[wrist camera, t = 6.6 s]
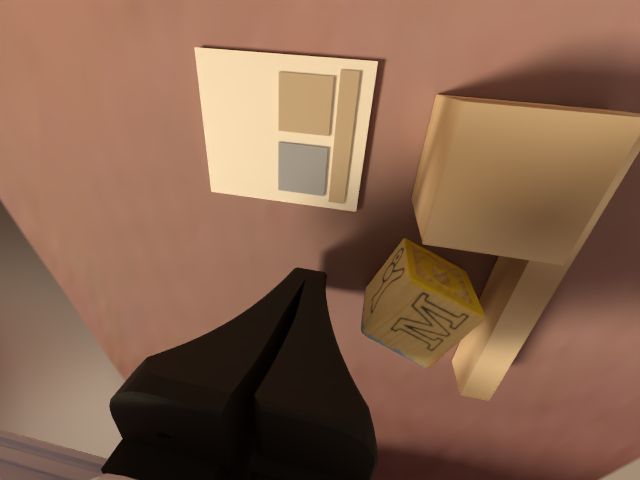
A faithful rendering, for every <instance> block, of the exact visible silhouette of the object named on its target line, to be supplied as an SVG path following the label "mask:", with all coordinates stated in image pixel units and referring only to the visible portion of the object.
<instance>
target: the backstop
mask: <svg viewBox="0 0 640 480" xmlns="http://www.w3.org/2000/svg"><path fill="white" fill-rule="evenodd" d="M568 107H575V108H582V109H589V110H596V111H603V112H610V113H617V114H624V115H631V116H638V117H640V113H633V112H625V111H617V110H610V109H598V108H587V107H576V106H568ZM639 151H640V135H639V137H638V139H637V140H636V142H635V144H634V145H633V147H632V149H631V150H630V152H629V154H628V156H627V157H626V159H625V161H624V162H623V164H622V166H621V168H620V169H619V171H618V173H617V174H616V176H615V178H614V179H613V181H612V183H611V185H610V186H609V188H608V190H607V191H606V193H605V195H604V196H603V198H602V200H601V202H600V203H599V205H598V207H597V208H596V210H595V212H594V214H593V215H592V217H591V219H590V220H589V222H588V224H587V225H586V227H585V229H584V231H583V232H582V234H581V236H580V237H579V239H578V241H577V242H576V244H575V246H574V248H573V249H572V251H571V253H570V254H569V256H568V258H567V260H566V261H565V263H564V265H558V264H551V263H545V262H538V261H531V260H524V259H518V258H511V257H504V256H498V258H497V261H496V263H495V265H494V267H493V270H492V272H491V274H490V276H489V279H488V281H487V283H486V285H485V288H484V290H483V292H482V294H481V297H480V299H479V302H480V305H481V307H482V309H483V312H484V315H485V319H484V320H483V321H482V322H481V323H480V324H479V325H478V326H477V327H476V328H474V329H473V330H472V331H471V332H470V333H469V334H467V335H466V336H465V337H464V338H463V339H462V340H461V341H460V344H459V346H458V348H457V350H456V353H455V355H454V357H453V359H452V364H453V368H454V371H455V375H456V379H457V383H458V387H459V391H460V395H463V396H468V397H473V398H478V399H483V400H488V401H489V400H490V399H491V397H492V395H493V394H494V392H495V390H496V389H497V387H498V385H499V384H500V382H501V380H502V379H503V377H504V375H505V374H506V372H507V370H508V369H509V367H510V365H511V364H512V362H513V360H514V359H515V357H516V355H517V354H518V352H519V350H520V349H521V347H522V345H523V344H524V342H525V340H526V339H527V337H528V335H529V334H530V332H531V330H532V329H533V327H534V325H535V324H536V322H537V321H538V319H539V317H540V316H541V314H542V312H543V311H544V309H545V307H546V306H547V304H548V302H549V301H550V299H551V297H552V296H553V294H554V292H555V291H556V289H557V287H558V286H559V284H560V282H561V281H562V279H563V277H564V276H565V274H566V272H567V271H568V269H569V267H570V266H571V264H572V262H573V261H574V259H575V257H576V256H577V254H578V252H579V251H580V249H581V248H582V246H583V244H584V243H585V241H586V239H587V238H588V236H589V234H590V233H591V231H592V229H593V228H594V226H595V224H596V223H597V221H598V219H599V218H600V216H601V214H602V213H603V211H604V209H605V208H606V206H607V204H608V203H609V201H610V199H611V198H612V196H613V194H614V193H615V191H616V189H617V188H618V186H619V184H620V183H621V181H622V179H623V178H624V176H625V174H626V173H627V171H628V170H629V168H630V166H631V165H632V163H633V161H634V160H635V158H636V156H637V155H638V153H639Z"/></svg>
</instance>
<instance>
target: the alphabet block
mask: <svg viewBox="0 0 640 480" xmlns="http://www.w3.org/2000/svg"><path fill="white" fill-rule="evenodd" d="M484 319H485V315H484V312H483V309H482V307H481V305H480V302H479V300H478V298H477V295H476V293H475V292H474V289H473V286H472V284H471V282H470V279H469V277H468V275H467V273H466V271H465V270H463V269H462V268H460V267H458V266H457V265H455V264H453V263H451V262H449V261H447V260H445V259H444V258H442V257H440V256H438V255H436V254H435V253H433V252H431V251H429V250H427V249H425V248H423V247H421V246H419V245H418V244H416V243H414V242H412V241H410V240H409V239H407V238H404V239H403V240H402V241H401V242H400V244H399V245H398V246H397V248H396V249H395V250H394V252H393V253H392V254H391V255H390V257H389V258H388V259H387V261H386V262H385V263H384V265H383V266H382V267H381V269H380V270H379V271H378V273H377V274H376V275H375V277H374V278H373V279H372V281H371V282H370V283H369V284H368V286H367V287H366V289H365V296H364V305H363V314H362V323H361V331H362V333H363V334H364V335H365V336H367V337H368V338H370V339H372V340H374V341H376V342H378V343H380V344H382V345H383V346H386V347H387V348H389V349H391V350H393V351H394V352H397V353H398V354H400V355H402V356H404V357H406V358H408V359H410V360H412V361H414V362H416V363H418V364H420V365H421V366H422V367H424V368H429V367H431V366H432V365H433V364H434V363H435V362H436V361H437V360H438V359H440V358H441V357H442V356H443V355H444V354H445V353H446V352H448V351H449V350H450V349H451V348H452V347H454V346H455V345H456V344H457V343H458V342H459V341H460V340H462V339H463V338H464V337H465V336H466V335H467V334H469V333H470V332H471V331H472V330H473V329H474V328H476V327H477V326H478V325H479V324H480V323H481V322H482V321H483V320H484Z"/></svg>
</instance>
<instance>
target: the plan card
mask: <svg viewBox="0 0 640 480" xmlns="http://www.w3.org/2000/svg"><path fill="white" fill-rule="evenodd" d="M195 56H196V64H197V73H198V81H199V90H200V99H201V107H202V116H203V124H204V133H205V141H206V150H207V158H208V167H209V175H210V184H211V192H218V193H225V194H232V195H239V196H246V197H253V198H260V199H268V200H275V201H282V202H289V203H296V204H303V205H311V206H318V207H325V208H332V209H339V210H346V211H353V212H356V209H357V202H358V195H359V189H360V182H361V175H362V168H363V161H364V154H365V148H366V141H367V134H368V127H369V120H370V113H371V106H372V100H373V93H374V86H375V79H376V72H377V65H378V61H368V60H355V59H342V58H329V57H315V56H302V55H289V54H276V53H263V52H250V51H237V50H224V49H210V48H197V47H195Z"/></svg>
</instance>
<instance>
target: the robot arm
mask: <svg viewBox="0 0 640 480" xmlns="http://www.w3.org/2000/svg"><path fill="white" fill-rule="evenodd" d="M326 280H327V274H326V273H325V272H320V271H314V270H309V269H303V268H295V269H294V270H293V271H292V272H291V273H290V274H289V275H288V276H287V277H286V278H285V279H284V280H283V281H282V282H281V283H280V284H278V285H277V286H276V287H275V288H274V289H273V290H272V291H271V292H269V293H268V294H267V295H266V296H265V297H263V298H262V299H261V300H260V301H258V302H257V303H256V304H254V305H253V306H252V307H250V308H249V309H248V310H246V311H245V312H243V313H242V314H240V315H239V316H237V317H236V318H234V319H232V320H231V321H229V322H227V323H226V324H224V325H222V326H220V327H218V328H217V329H215V330H213V331H211V332H209V333H207V334H205V335H203V336H201V337H198V338H196V339H194V340H192V341H189V342H187V343H185V344H182V345H180V346H177V347H175V348H172V349H169V350H166V351H164V352H161V353H158V354H156V355H153V356H150V357H147V358H146V359H145V360H144V361H143V362H142V363H141V364H140V365H139V366H138V367H137V368H136V370H135V371H134V372H133V373H132V374H131V376H130V377H129V378H128V379H127V380H126V382H125V383H124V384H123V385H122V386H121V388H120V389H119V390H118V391H117V392H116V394H115V395H114V396H113V397H112V398H111V400H110V405H109V406H110V411H111V415H112V417H113V419H114V421H115V424H116V425H117V428H118V430H119V432H120V434H121V436H122V438H123V439H122V440H121V442H120V443H119V444H118V446H117V447H116V449H115V450H114V451H113V453H112V454H111V456H110V457H109V459H106V458H103V457H99V456H95V455H92V454H88V453H84V452H81V451H77V450H74V449H70V448H66V447H63V446H59V445H55V444H52V443H48V442H45V441H41V440H37V439H34V438H30V437H26V436H23V435H19V434H15V433H12V432H8V431H5V430H1V429H0V480H371V478H372V476H373V473H374V470H375V467H376V465H377V458H378V454H377V444H376V437H375V432H374V427H373V423H372V419H371V415H370V411H369V407H368V405H367V404H366V402H365V400H364V399H363V397H362V395H361V394H360V392H359V390H358V388H357V386H356V385H355V383H354V381H353V379H352V377H351V375H350V373H349V371H348V368H347V366H346V364H345V362H344V359H343V357H342V355H341V352H340V350H339V347H338V344H337V342H336V338H335V335H334V332H333V329H332V325H331V321H330V317H329V312H328V307H327V300H326Z"/></svg>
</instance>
